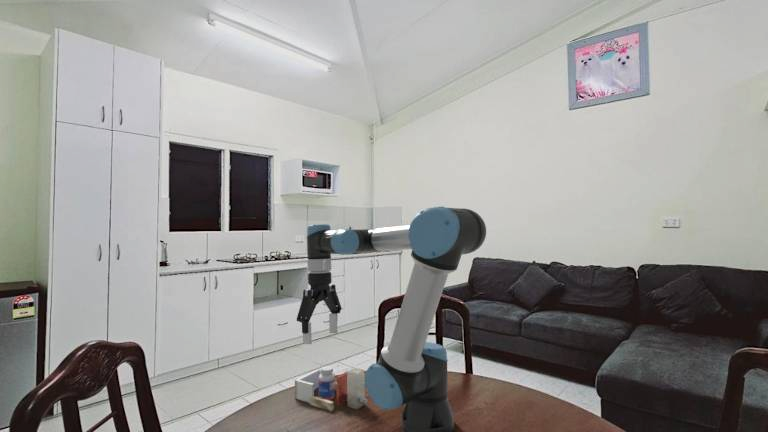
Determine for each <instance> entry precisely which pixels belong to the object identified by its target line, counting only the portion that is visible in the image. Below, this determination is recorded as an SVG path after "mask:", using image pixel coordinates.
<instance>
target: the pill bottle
mask: <svg viewBox="0 0 768 432" xmlns="http://www.w3.org/2000/svg"><path fill="white" fill-rule="evenodd" d="M320 369H321V374H320V375H319V387H318V398H322V399H325V400H329V401H332V400H333V399H334V398H335V394H336V393H335V392H336V390H335V383H336V376H335V375H336V374H335V375H334V374H333V372H334V367H332V366H331V365H329V366H326V365H325V366H322V367H321V368H320Z"/></svg>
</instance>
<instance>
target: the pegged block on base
mask: <svg viewBox="0 0 768 432" xmlns="http://www.w3.org/2000/svg"><path fill="white" fill-rule="evenodd" d="M365 374H366V372H365V369H361V368H357V367H353V368H350V370H347V371H345V372H343V373H341V374H339V375H337V376H336V382H337V391H336V406H338V407H339V406H341V405H343V404H344V403H346V402H347V403H346V404H347V407H348V408H350V409H351V408H352V409H355V410H359V409H360V408H362V407H363V406H366V405H368V403H369V399H368V398H366V396H365V395H366V393H365V388H366V384H365Z"/></svg>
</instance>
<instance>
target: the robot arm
mask: <svg viewBox="0 0 768 432" xmlns="http://www.w3.org/2000/svg"><path fill="white" fill-rule="evenodd" d="M486 236H487V226H486V223H485V221H484V219H483V218H482V217H481V215H480V214H478V213H477V212H476V211H474V210H471V209H468V208H459V207H458V208H456V207H444V206H435V207H428V208H425V209H422V210H420V211H419V212H418V213H417V214H416V215H415V216H414V217H413V219H412V220H411V221H410V223H409V224H402V225H393V226H385V227H376V228H367V229H366V228H363V229H347V228H341V229H332V228H331V226H330V224H328V223H327V224H309V225H308V226H307V234H306V240H307V242H306V243H307V245H306V246H307V271H308V273H307V284H308V285H309V286H310V289H309V288H308V289H303V291H302V292H303V293H302V300H301V302H300V305H299V310H298V312H297V316H296V321H297V322H299V323H301V333H302V343H303V344H304V345H305V344H306V345H312V343H313V342H312V322H310V320H311V319H312V316H313V315H314V312H315V309H316V307H317V305H318V304H319V303H320V302H322V301H323V302H324V303H325V305H326V307H327V308H328V310H329V312H330V313H329V314H328V317H329V321H328V322H329V324H328V325H329V334H333V335H335V334H338V319H339V318H338V314H340V313H341V311H342V305H341V301H340V299H339V297H338V293H337V291H336V284H332V282H333V281H332V272H331V271H332V254H333V255H343V256H344V255H351V254H357V253H358V254H359V253H378V252H387V251H389V252H390V251H402V250H411V253H410V256H411V258H412V259H413V261H414V263H413V267H412V270H411V273H410V278H409V280H408V284H407V287H406V291H405V294H404V296H403V299H402V303H401V307H400V309H399V313H398V316H397V318H396V322H395V326H394V329H393V333H392V336H391V339H390V342H389V343H388V344H385V345H384V346H383V347H382V349H381V351H380V355H379V358H378V361H377V362H376V363H373V364H371V365H370V366H369V367H368V368H367V369H366V372H365V388H366V390H367V393H368V395H369V397H370V399H371V401H372V402H373V403H374V404H375V405H376V406H377V407H378V408H379V409H381V410H384V411H392V410H395V409H398V408H400V407H402V406H403V410H402V412H401V417H400V418H401V419H400V421H401V422H400V425H401V428H402V430H403V431H405V432H453V431H454V429H455V418H454V414H453V412H452V408H451V406H450V401H449V399H448V356H447V355H448V354H447V349H446V347H444V346H443V345H441V344H439V343H434V342H430V341H429V342H428V341H427V339H428V336H429V334H430V330H431V327H432V324H433V321H434V318H435V315H436V312H437V310H438V307H439V303H440V301H441V300H440V299H441V297H442V294H443V291H444V287H445V285H446V283H447V280H448V277H449V274H450V273H453V272H455V271H457V269H458V267H459V265H460V260H461V258H462V255H467V254H471V253H473V252H475V251H477V250H478V249H479V248H481V247H482V245H483V243H484V242H485V240H486Z"/></svg>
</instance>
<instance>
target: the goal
mask: <svg viewBox="0 0 768 432" xmlns="http://www.w3.org/2000/svg"><path fill="white" fill-rule="evenodd" d="M335 373H336V372H334V371H333V374H334V375H336V374H335ZM320 374H321V368H317V369H315V370H313V371H311V372H309V373H307V374H304V375H303V376H301V377H299V378H297V379H294V399H296V400H299V401H303V402H306V403H309V404H310V397H311V396H314V397H315V390H317V389H319V375H320Z"/></svg>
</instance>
